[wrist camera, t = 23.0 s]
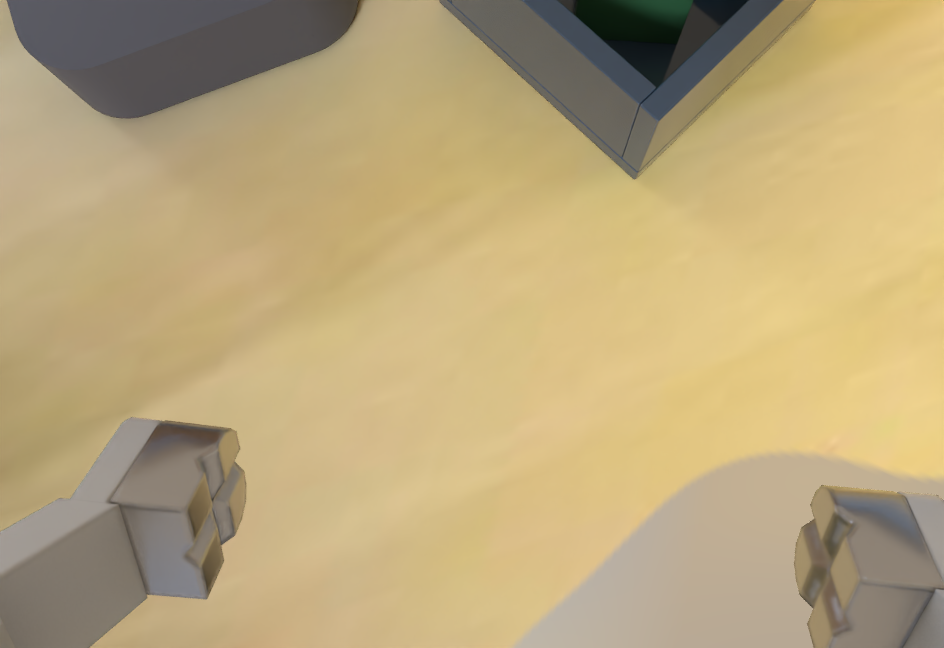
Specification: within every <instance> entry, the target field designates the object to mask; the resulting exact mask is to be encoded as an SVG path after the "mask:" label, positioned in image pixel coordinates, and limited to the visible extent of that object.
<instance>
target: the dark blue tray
mask: <svg viewBox="0 0 944 648" xmlns="http://www.w3.org/2000/svg"><path fill="white" fill-rule="evenodd" d="M439 1H440V3H441V4H442V5H443V6H444V7H446V8H447V9H448V10H449V11H450V12H451V13H452V14H453V15H454V16H455V17H457V18H458V19H459V20H460V21H461V22H462V23H463V24H464V25H465V26H466V27H467V28H469V29H470V30H471V31H472V32H473V33H474V34H475V35H476V36H477V37H478V38H480V39H481V40H482V41H483V42H484V43H485V44H486V45H487V46H488V47H489V48H490V49H492V50H493V51H494V52H495V53H496V54H497V55H498V56H499V57H500V58H501V59H503V60H504V61H505V62H506V63H507V64H508V65H509V66H510V67H511V68H512V69H514V70H515V71H516V72H517V73H518V74H519V75H520V76H521V77H522V78H523V79H524V80H526V81H527V82H528V83H529V84H530V85H531V86H532V87H533V88H534V89H535V90H537V91H538V92H539V93H540V94H541V95H542V96H543V97H544V98H545V99H546V100H547V101H549V102H550V103H551V104H552V105H553V106H554V107H555V108H556V109H557V110H558V111H560V112H561V113H562V114H563V115H564V116H565V117H566V118H567V119H568V120H569V121H570V122H572V123H573V124H574V125H575V126H576V127H577V128H578V129H579V130H580V131H581V132H583V133H584V134H585V135H586V136H587V137H588V138H589V139H590V140H591V141H592V142H594V143H595V144H596V145H597V146H598V147H599V148H600V149H601V150H602V151H603V152H604V153H606V154H607V155H608V156H609V157H610V158H611V159H612V160H613V161H614V162H615V163H617V164H618V165H619V166H620V167H621V168H622V169H623V170H624V171H625V172H626V173H627V174H629V175H630V176H631V177H632V178H633V179H637V178H638V177H639V176H640V175H641V174H642V173H643V172H644V171H645V170H646V169H647V168H648V167H649V166H650V165H651V164H652V163H653V162H654V161H655V160H656V159H657V158H658V157H659V156H660V155H661V154H662V153H663V152H664V151H665V150H666V149H667V148H668V147H669V146H670V145H671V144H672V143H673V142H674V141H675V140H676V139H677V138H678V137H680V136H681V135H682V134H683V133H684V132H685V131H686V130H687V129H688V128H689V127H690V126H691V125H692V124H693V123H694V122H695V121H696V120H697V119H698V118H699V117H700V116H701V115H702V114H703V113H704V112H705V111H706V110H707V109H708V108H709V107H710V106H711V105H712V104H713V103H714V102H715V101H716V100H717V99H718V98H719V97H720V96H721V95H722V94H723V93H725V92H726V91H727V90H728V89H729V88H730V87H731V86H732V85H733V84H734V83H735V82H736V81H737V80H738V79H739V78H740V77H741V76H742V75H743V74H744V73H745V72H746V71H747V70H748V69H749V68H750V67H751V66H752V65H753V64H754V63H755V62H756V61H757V60H758V59H759V58H760V57H761V56H762V55H763V54H764V53H765V52H766V51H767V50H768V49H770V48H771V47H772V46H773V45H774V44H775V43H776V42H777V41H778V40H779V39H780V38H781V37H782V36H783V35H784V34H785V33H786V32H787V31H788V30H789V29H790V28H791V27H792V26H793V25H794V24H795V23H796V22H797V21H798V20H799V19H800V18H801V17H802V16H803V15H804V14H805V13H806V12H807V11H808V10H809V9H810V8H811V7H812V5H813V4H814V2H815V1H816V0H693V3H692V6H691V8H690V11H689V14H688V16H687V19H686V22H685V24H684V27H683V30H682V32H681V35H680V38H679V40H678V43H677V44H669V43H653V42H637V41H620V40H604V39H601V38H600V37H599V36H598V35H597V34H596V33H594V32H593V31H592V30H591V29H590V28H589V27H588V26H587V25H585V24H584V23H583V22H582V21H581V20H580V19H579V18H577V17H576V16H575V5H576V0H439Z"/></svg>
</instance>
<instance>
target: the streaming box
mask: <svg viewBox="0 0 944 648" xmlns="http://www.w3.org/2000/svg"><path fill="white" fill-rule="evenodd" d="M7 2H8V6H9V9H10V13H11V16H12V20H13V23H14V27H15V30H16V33H17V35H18V38H19V40H20V42H21V43H22V45H23V46H24V48H25V49H26V50H27V51H28V52H29V53H30V54H31V55H32V56H33V57H34V58H35V59H36V60H38V61H39V62H40V63H41V64H42V65H43V66H45V67H46V68H47V69H48V70H49V71H50V72H51V73H53V74H54V75H55V76H56V77H57V78H58V79H60V80H61V81H62V82H63V83H64V84H65V85H67V86H68V87H69V88H70V89H71V90H72V91H73V92H75V93H76V94H77V95H78V96H79V97H80V98H82V99H83V100H84V101H85V102H86V103H87V104H89V105H90V106H91V107H92V108H94V109H95V110H97V111H99V112H101V113H102V114H105V115H108V116H111V117H117V118H135V117H141V116H144V115H148V114H151V113H154V112H156V111H159V110H162V109H164V108H167V107H170V106H172V105H175V104H178V103H181V102H183V101H186V100H189V99H191V98H194V97H197V96H199V95H202V94H205V93H208V92H210V91H213V90H216V89H218V88H221V87H224V86H227V85H229V84H232V83H235V82H237V81H240V80H243V79H245V78H248V77H251V76H254V75H256V74H259V73H262V72H264V71H267V70H270V69H272V68H275V67H278V66H281V65H283V64H286V63H289V62H291V61H294V60H297V59H300V58H302V57H305V56H308V55H310V54H313V53H316V52H318V51H320V50H323V49H325V48H327V47H328V46H330V45H331V44H333V43H334V42H335V41H337V40H338V39H339V38H340V37H341V36H342V35H343V34H344V33H345V31H346V30H347V29H348V27H349V26H350V24H351V22H352V20H353V18H354V16H355V13H356V9H357V5H358V0H7Z"/></svg>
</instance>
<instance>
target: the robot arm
mask: <svg viewBox="0 0 944 648" xmlns="http://www.w3.org/2000/svg"><path fill="white" fill-rule="evenodd" d="M239 450H240V445H239V441H238V436H237V432H236V431H235V430H233V429H231V428H224V427H216V426H208V425H199V424H191V423H183V422H175V421H166V420H165V421H160V420H152V419H144V418H136V417H131V418H129V419H127V420H126V421H124V422H123V423H122V424H121V425H120V426H119V428H118V429H117V431H116V432H115V433H114V435H113V436H112V438H111V439H110V441H109V442H108V444H107V445H106V447H105V448H104V450H103V451H102V452H101V454H100V455H99V457H98V458H97V460H96V461H95V463H94V464H93V466H92V467H91V469H90V470H89V471H88V473H87V474H86V476H85V477H84V479H83V480H82V482H81V483H80V485H79V486H78V488H77V489H76V490H75V492H74V493H73V495H72V496H71V498H70V499H64V498H59V499H57V500H55V501H54V502H52V503H50V504H48V505H46V506H45V507H43V508H41V509H39V510H38V511H36V512H34V513H32V514H31V515H29V516H27V517H25V518H24V519H22V520H20V521H18V522H17V523H15V524H13V525H11V526H10V527H8V528H6V529H4V530H3V531H1V532H0V648H89V647H90V646H92V645H93V644H94V643H95V642H96V641H97V640H99V639H100V638H101V637H102V636H103V635H104V634H106V633H107V632H108V631H109V630H110V629H112V628H113V627H114V626H115V625H116V624H117V623H119V622H120V621H121V620H122V619H123V618H124V617H126V616H127V615H128V614H129V613H130V612H131V611H133V610H134V609H135V608H136V607H137V606H138V605H140V604H141V603H142V602H143V601H144V600H145V599H147V594H148V595H160V596H172V597H184V598H196V599H207V598H208V596H209V594H210V591H211V589H212V587H213V585H214V582H215V580H216V578H217V576H218V573H219V571H220V569H221V567H222V564H223V562H224V557H223V553H222V548H221V545H222V544H224V543H225V542H226V541H228V540H229V539H231V538H232V537H233V536H235V534H236V532H237V530H238V527H239V525H240V522H241V520H242V516H243V511H244V507H245V502H246V479H245V473H244V470H243V469H242V468H241V467H240V466H239V465H238V464H237V463H236V462H235V459H236V456H237V454H238V452H239ZM810 505H811V509H812V512H813V516H814V520H812V521H810V522H809V523H807V524H806V525H804V526H803V527H802V528H801V531H800V533H799V536H798V539H797V542H796V548H795V561H794V566H795V575H796V582H797V586H798V589H799V594H800V596H801V597H802V598H803V599H804V600H805V601H806V602H807V603H808V604H809V605H810V606H811V607H812V608H813V611H812V614H811V616H810V618H809V621H808V623H807V625H808V628H809V632H810V636H811V639H812V643H813V647H814V648H944V500H943V499H942V498H940V497H939V496H938V495H931V494H919V493H908V492H897V493H896V492H893V491H882V490H871V489H859V488H848V487H837V486H826V485H825V486H824V485H822V486H821V487H820V488H819V489H818V490H817V491H816V492H815V494H814V497H813V499H812V502H811V504H810Z"/></svg>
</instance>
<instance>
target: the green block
mask: <svg viewBox="0 0 944 648" xmlns="http://www.w3.org/2000/svg"><path fill="white" fill-rule="evenodd" d="M692 3H693V0H576V5H575V16H576V17H577V18H579V19H580V20H581V21H582V22H583V23H584V24H585V25H587V26H588V27H589V28H590V29H591V30H592V31H593V32H594V33H596V34H597V35H598V36H599V37H600V38H601V39H604V40H620V41H637V42H653V43H669V44H677V43H678V40H679V38H680V35H681V32H682V30H683V27H684V24H685V22H686V19H687V16H688V14H689V11H690V8H691V6H692Z"/></svg>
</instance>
